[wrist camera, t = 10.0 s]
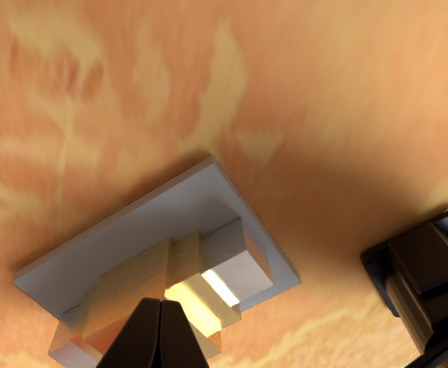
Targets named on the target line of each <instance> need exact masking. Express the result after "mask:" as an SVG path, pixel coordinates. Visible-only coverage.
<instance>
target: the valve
mask: <svg viewBox="0 0 448 368" xmlns="http://www.w3.org/2000/svg"><path fill="white" fill-rule="evenodd" d="M273 285H274V283H273V279H272V274H271V270H270V265H269V261H268V257H267V252H266V249H265V248H264V247H263V245H262V244H261V243H260V242H259V240H258V239H257V238H256V236H255V235H254V234H253V232H252V231H251V230H250V228H249V227H248V226H247V224H246V223H245V222H244V220H243V219H242V218H239V219H237V220H235V221H233V222H232V223H230V224H228V225H226V226H224V227H222V228H221V229H219V230H217V231H215V232H213V233H211V234H210V235H208V236H206V237H205V236H204V235H203V234H202V233H201V231H200V230H199V229H198V230H196V231H194V232H192V233H191V234H189V235H187V236H185V237H183V238H182V239H180V240H178V241H176V242H174V241H173V239H172V238H171V237H170V236H169V237H168V238H166V239H164V240H162V241H160V242H159V243H157V244H155V245H153V246H151V247H150V248H148V249H146V250H144V251H143V252H141V253H139V254H137V255H135V256H134V257H132V258H130V259H128V260H126V261H125V262H123V263H121V264H119V265H117V266H116V267H114V268H112V269H110V270H109V271H107V272H105V273H103V274H101V275H100V277H99V281H98V284H97V286H95V287H93V288H91V289H89V290H87V291H86V292H85V293H84V296H83V299H82V303H81V305H79V306H78V307H76V308H74V309H72V310H70V311H68V312H67V313H65V314H63V315H61V317H60V320H59V323H58V326H57V329H56V331H55V334H54V337H53V340H52V343H51V345H50V348H49V351H48V354H47V355H49V356H50V357H51V358H53V359H54V360H56V361H57V362H58V363H60V364H61V365H62V366H64V367H65V368H95V367H96V366H97V364H98V363H99V361H100V360H101V358H102V357H103V355H104V354H105V352H106V351H107V349H108V348H109V346H110V345H111V343H112V342H113V340H114V339H115V337H116V336H117V334H118V333H119V331H120V330H121V328H122V327H123V325H124V324H125V322H126V321H127V319H128V318H129V316H130V315H131V313H132V312H133V310H134V309H135V307H136V306H137V304H138V303H139V301H140V300H141V299H142V298H143V297H149V298H157V299H160V301H162V300H164V299H166V300H174V301H179V302H180V303H181V305H182V308H183V310H184V312H185V314H186V316H187V319H188V321H189V323H190V325H191V328H192V330H193V332H194V334H195V336H196V339H197V341H198V343H199V345H200V348H201V350H202V352H203V354H204V356H205V359H206V360H207V359H209V358H211V357H214V356H216V355H218V354H220V353H222V347H221V331H220V330H221V329H223V328H225V327H227V326H229V325H231V324H233V323H235V322H237V321H239V320H241V312H240V303H239V302H240V301H242V300H244V299H246V298H248V297H250V296H252V295H254V294H256V293H258V292H260V291H262V290H265V289H267V288H269V287H271V286H273Z"/></svg>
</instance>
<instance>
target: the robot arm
mask: <svg viewBox="0 0 448 368" xmlns="http://www.w3.org/2000/svg"><path fill="white" fill-rule="evenodd" d="M368 258H371V259H369V260H367V259H368ZM360 260H361V262H362V264H363V266H364V267H365V269H366V271H367V272H368V274H369V276H370V277H371V279H372V281H373V282H374V284H375V286H376V287H377V289H378V290H379V292H380V294H381V295H382V297H383V299H384V300H385V302H386V304H387V305H388V307H389V309H390V310H391V312H392V314H393V315H394V316H395V317H400V318H401V320H402V321H403V323H404V325H405V327H406V329H407V331H408V332H409V334H410V336H411V338H412V340H413V342H414V344H415V345H416V347H417V349H418V351H419V353H420V356H419V357H418V358H416V359H415V360H414V361H412V362H411V363H409V364H408V365H407V366H405V367H404V368H448V211H447V212H445V213H443V214H441V215H439V216H437V217H435V218H433V219H431V220H429V221H427V222H425V223H423V224H421V225H419V226H417V227H414V228H412V229H410V230H408V231H406V232H404V233H402V234H400V235H398V236H396V237H394V238H392V239H390V240H388V241H386V242H384V243H382V244H379V245H377V246H375V247H373V248H371V249H369V250H367V251H365V252H364V253H362V254H361V256H360ZM95 368H209V365H208V363H207V361H206V359H205V356H204V354H203V352H202V350H201V348H200V345H199V343H198V341H197V339H196V336H195V334H194V332H193V330H192V328H191V325H190V323H189V321H188V319H187V316H186V314H185V312H184V310H183V308H182V305H181V303H180V302H179V301H174V300H166V299H164V300H162V301H160V299H157V298H149V297H143V298H142V299H141V300H140V301H139V303H138V304H137V306H136V307H135V309H134V310H133V312H132V313H131V315H130V316H129V318H128V319H127V321H126V322H125V324H124V325H123V327H122V328H121V330H120V331H119V333H118V334H117V336H116V337H115V339H114V340H113V342H112V343H111V345H110V346H109V348H108V349H107V351H106V352H105V354H104V355H103V357H102V358H101V360H100V361H99V363H98V364H97V366H96V367H95Z"/></svg>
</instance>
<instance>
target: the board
mask: <svg viewBox="0 0 448 368" xmlns="http://www.w3.org/2000/svg"><path fill="white" fill-rule="evenodd" d="M239 218H242V219H243V220H244V222H245V223H246V224H247V226H248V227H249V228H250V230H251V231H252V232H253V234H254V235H255V236H256V238H257V239H258V240H259V242H260V243H261V244H262V245H263V247H264V248H265V249H266V252H267V257H268V261H269V265H270V270H271V274H272V279H273V283H274V285H273V286H271V287H269V288H267V289H265V290H262V291H260V292H258V293H256V294H254V295H252V296H250V297H248V298H246V299H244V300H242V301H240V302H239V303H240V312H243V311H245V310H247V309H249V308H251V307H253V306H255V305H257V304H259V303H261V302H263V301H265V300H267V299H269V298H271V297H273V296H276V295H278V294H280V293H282V292H284V291H286V290H288V289H290V288H292V287H294V286H296V285H298V284H300V283H301V281H300V277H299V274H298V271H297V270H296V269H295V267H294V266H293V265H292V263H291V262H290V260H289V259H288V258H287V256H286V255H285V254H284V252H283V251H282V249H281V248H280V247H279V245H278V244H277V243H276V241H275V240H274V239H273V237H272V236H271V234H270V233H269V232H268V230H267V229H266V228H265V226H264V225H263V223H262V222H261V221H260V219H259V218H258V217H257V215H256V214H255V212H254V211H253V210H252V208H251V207H250V206H249V204H248V203H247V201H246V200H245V199H244V197H243V196H242V195H241V193H240V192H239V191H238V189H237V188H236V186H235V185H234V184H233V182H232V181H231V180H230V178H229V177H228V175H227V174H226V173H225V171H224V170H223V169H222V167H221V166H220V164H219V163H218V162H217V160H216V159H215V158H214V156H213V155H211V156H209V157H207V158H206V159H204V160H202V161H201V162H199V163H197V164H196V165H194V166H192V167H191V168H189V169H187V170H186V171H184V172H182V173H181V174H179V175H177V176H176V177H174V178H172V179H171V180H169V181H167V182H165V183H164V184H162V185H160V186H159V187H157V188H155V189H154V190H152V191H150V192H149V193H147V194H145V195H144V196H142V197H140V198H139V199H137V200H135V201H134V202H132V203H130V204H129V205H127V206H125V207H124V208H122V209H120V210H119V211H117V212H115V213H114V214H112V215H110V216H108V217H107V218H105V219H103V220H102V221H100V222H98V223H97V224H95V225H93V226H92V227H90V228H88V229H87V230H85V231H83V232H82V233H80V234H78V235H77V236H75V237H73V238H72V239H70V240H68V241H67V242H65V243H63V244H62V245H60V246H58V247H57V248H55V249H53V250H51V251H50V252H48V253H46V254H45V255H43V256H41V257H40V258H38V259H36V260H35V261H33V262H31V263H30V264H28V265H26V266H25V267H23V268H21V269H20V270H18V271H17V273H16V275H15V277H14V278H13V280H12V282H11V283H13V284H14V285H15V286H16V287H18V288H19V289H20V290H21V291H23V292H24V293H25V294H27V295H28V296H29V297H30V298H32V299H33V300H34V301H35V302H37V303H38V304H39V305H40V306H42V307H43V308H44V309H45V310H47V311H48V312H49V313H50V314H52V315H53V316H54V317H56V318H57V319H58V320H60V317H61V315H63V314H65V313H67V312H68V311H70V310H72V309H74V308H76V307H78V306H79V305H81V303H82V299H83V296H84V293H85V292H86V291H87V290H89V289H91V288H93V287H95V286H97V284H98V281H99V277H100V275H101V274H103V273H105V272H107V271H109V270H110V269H112V268H114V267H116V266H117V265H119V264H121V263H123V262H125V261H126V260H128V259H130V258H132V257H134V256H135V255H137V254H139V253H141V252H143V251H144V250H146V249H148V248H150V247H151V246H153V245H155V244H157V243H159V242H160V241H162V240H164V239H166V238H168V237H169V236H170V237H171V238H172V239H173V241H174V242H176V241H178V240H180V239H182V238H183V237H185V236H187V235H189V234H191V233H192V232H194V231H196V230H198V229H199V230H200V231H201V233H202V234H203V235H204V236H205V237H206V236H208V235H210V234H211V233H213V232H215V231H217V230H219V229H221V228H222V227H224V226H226V225H228V224H230V223H232V222H233V221H235V220H237V219H239Z"/></svg>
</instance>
